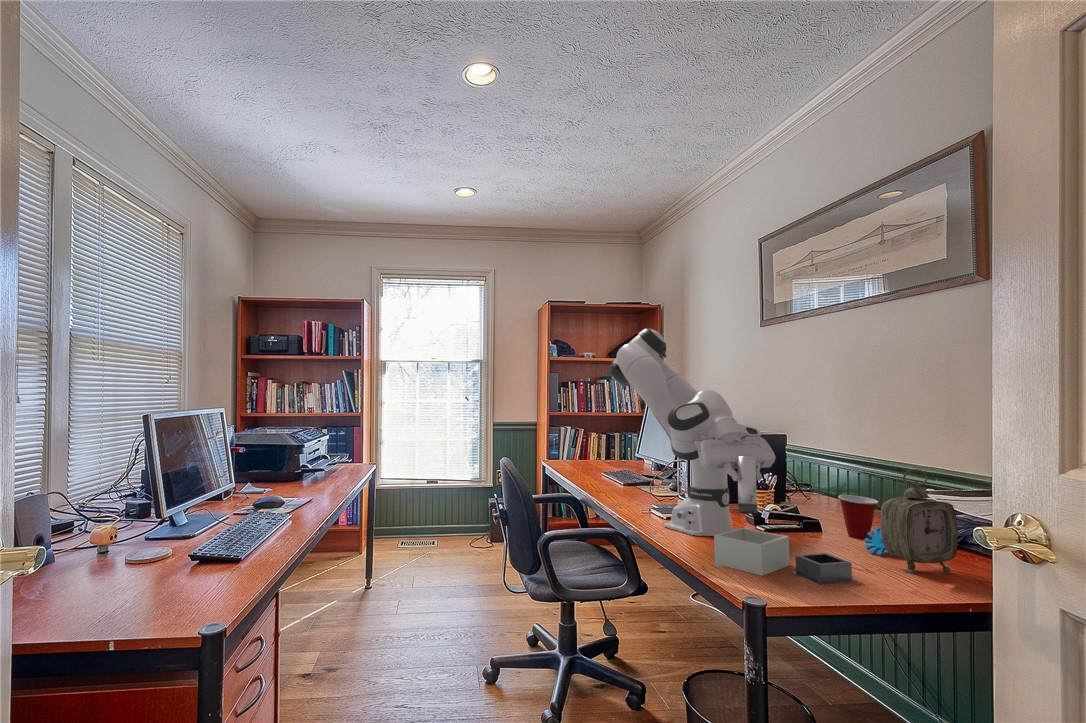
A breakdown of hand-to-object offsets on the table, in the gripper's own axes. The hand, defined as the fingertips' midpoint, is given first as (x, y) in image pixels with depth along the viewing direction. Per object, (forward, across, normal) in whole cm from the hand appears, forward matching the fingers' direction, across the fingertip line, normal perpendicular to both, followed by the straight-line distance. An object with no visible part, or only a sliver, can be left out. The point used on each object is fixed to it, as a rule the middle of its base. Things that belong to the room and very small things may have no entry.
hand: (748, 479), depth 143 cm
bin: (+16, +1, +16) cm, 22 cm away
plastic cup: (+1, +51, +31) cm, 59 cm away
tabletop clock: (+24, +38, +7) cm, 46 cm away
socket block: (+24, +12, +7) cm, 28 cm away
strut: (+6, 0, +6) cm, 8 cm away
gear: (+14, +43, +18) cm, 49 cm away
